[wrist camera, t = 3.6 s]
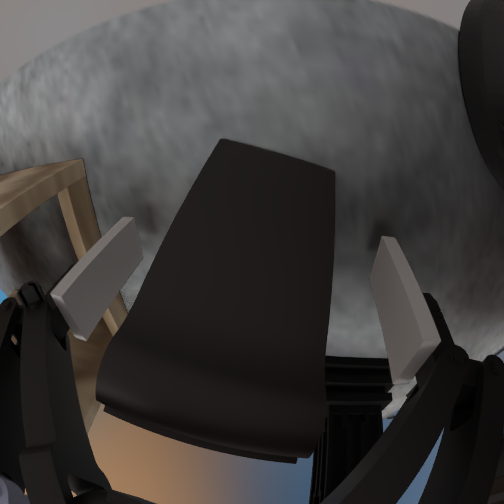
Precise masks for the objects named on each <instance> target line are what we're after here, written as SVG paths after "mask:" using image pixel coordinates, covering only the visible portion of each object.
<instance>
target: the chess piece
mask: <svg viewBox="0 0 504 504" xmlns="http://www.w3.org/2000/svg"><path fill="white" fill-rule="evenodd" d="M393 386H394V384H393V383H392V377H391V371H390V365H389V360H388V359H380V358H351V357H334V356H325V388H326V399H327V405H326V416H325V422H324V426H323V430H322V434H321V437H320V439H319V442H318V444H317V446H316V448H315V450H314V453H313V467H312V479H311V490H310V499H309V504H320V503H321V502H322V501H323V500H324V499H325V498H326V497H328V496H329V495H330V494H331V493H332V492H333V491H334V490H335V489H336V488H337V487H338V486H339V485H340V484H341V483H342V482H343V480H344V479H345V478H346V477H347V476H348V475H349V474H350V473H351V472H352V471H353V470H354V468H355V467H356V466H357V465H358V464H359V463H360V462H361V460H362V459H363V458H364V457H365V456H366V454H367V453H368V452H369V451H370V450H371V448H372V447H373V446H374V445H375V443H376V442H377V441H378V439H379V438H380V437H381V435H382V434H383V422H382V410H383V409H384V408H385V407H386V406H387V405H388V404H389V403H390V402H391V401H392V393H387V392H388V391H389V390H390V389H391V388H392V387H393Z"/></svg>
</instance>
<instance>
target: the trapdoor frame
mask: <svg viewBox="0 0 504 504" xmlns="http://www.w3.org/2000/svg"><path fill="white" fill-rule="evenodd" d="M56 194H57V195H58V199H59V202H60V206H61V209H62V213H63V216H64V220H65V223H66V226H67V229H68V232H69V235H70V238H71V241H72V244H73V247H74V250H75V253H76V255H77V258H78V261H79V260H80V259H81V258H82V257H83V256H84V255H85V254H86V253H87V252H88V251H89V250H90V249H91V248H92V247H93V246H94V245H95V244H96V243H97V242H98V241H99V240H100V239H101V235H100V232H99V228H98V224H97V221H96V217H95V213H94V209H93V205H92V201H91V197H90V192H89V188H88V183H87V179H86V174H85V168H84V163H83V159H77V160H71V161H65V162H59V163H53V164H48V165H42V166H37V167H32V168H28V169H23V170H19V171H15V172H10V173H6V174H3V175H0V236H2V235H3V234H4V233H5V232H6V231H8V230H9V229H10V228H11V227H12V226H14V225H15V224H16V223H17V222H19V221H20V220H21V219H23V218H24V217H25V216H26V215H28V214H29V213H30V212H32V211H33V210H34V209H36V208H37V207H39V206H40V205H41V204H43V203H44V202H46V201H47V200H48V199H50V198H51V197H53V196H54V195H56ZM17 292H18V290H14V291H13V292H12V293H11V294H10V295H9V297H14V298H16V300H17V302H18V303H19V305H22V303H21V302H20V300H19V298H18V296H17V295H16V294H17ZM9 297H8V298H9ZM127 315H128V312H127V310H126V307H125V305H124V302H123V300H122V297H121V295H120V292H119V293H118V294H117V295H116V297H115V298H114V300H113V301H112V303H111V304H110V306H109V307H108V309H107V310H106V312H105V313H104V315H103V317H102V318H101V319H100V321H99V322H98V324H97V325H96V327H95V328H94V330H93V332H92V333H91V335H90V336H89V338H88V340H87V341H85V340H82V339H79V338H76V337H75V336H74V335H73V333H72V331H71V330H70V329H69V331H68V332H67V334H68V336H69V339H70V349H71V357H72V364H73V371H74V377H75V383H76V389H77V394H78V399H79V403H80V408H81V412H82V416H83V421H84V424H85V428H86V432H87V434H88V432H89V429H90V427H91V425H92V423H93V420H94V418H95V416H96V413H97V411H98V409H99V407H100V405H101V403H100V402H98V401H96V395H95V388H96V380H97V374H98V370H99V367H100V363H101V360H102V358H103V355H104V353H105V350H106V348H107V346H108V344H109V343H110V341H111V339H112V338H113V336H114V335H115V333H116V332H117V331H118V329H119V328H120V326H121V325H122V323H123V322H124V320H125V318H126V317H127ZM11 340H12V341H13V343H14V344H15V345H16V343H17V340H16V339H15V337H14V336H13V335H12V338H11Z"/></svg>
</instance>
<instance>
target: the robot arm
mask: <svg viewBox="0 0 504 504" xmlns="http://www.w3.org/2000/svg"><path fill="white" fill-rule="evenodd" d="M459 61H460V72H461V80H462V86H463V92H464V97H465V102H466V106H467V111H468V114H469V118H470V122H471V125H472V129H473V132H474V135H475V138H476V140H477V143H478V146H479V148H480V150H481V153H482V155H483V157H484V159H485V161H486V163H487V165H488V167H489V169H490V170H491V172H492V174H493V175H494V177H495V178H496V180H497V181H498V182H499V183H500V185H501V186H502V187H503V188H504V0H471V1H470V2H469V3H468V5H467V7H466V9H465V11H464V14H463V17H462V22H461V27H460V34H459ZM142 259H143V254H142V250H141V246H140V242H139V237H138V233H137V229H136V224H135V219H134V217H122V218H121V219H120V220H119V221H118V222H117V223H116V224H115V225H114V226H113V227H112V228H111V229H110V230H109V231H108V232H107V233H106V234H105V235H104V236H103V237H102V238H101V239H100V240H99V241H98V242H97V243H96V244H95V245H94V246H93V247H92V248H91V249H90V250H89V251H88V252H87V253H86V254H85V255H84V256H83V257H82V258H81V259H80V260H79V261H77V262H76V263H74V264H73V265H71V266H70V268H69V269H68V270H67V271H66V273H64V274H63V275H62V276H61V278H60V279H59V280H58V281H57V282H56V283H55V284H54V286H53V287H52V288H51V289H50V290H49V291H48V293H47V294H46V295H44V293H43V291H42V289H41V287H40V285H39V283H38V282H37V281H30V282H27V283H25V284H24V285H23V286H21V287H20V289H19V290H18V292H17V294H16V295H17V296H18V298H19V300H20V302H21V303H22V305H19V303H18V302H17V300H16V298H14V297H9V298H7V299H5V300H4V301H3V302H2V303H1V304H0V504H156V503H153V502H150V501H147V500H144V499H142V498H139V497H135V496H132V495H128V494H125V493H121V492H118V491H115V490H112V488H111V486H110V483H109V482H108V479H107V478H106V476H105V474H104V473H103V472H102V471H101V470H100V468H99V467H98V465H97V463H96V461H95V458H94V455H93V452H92V449H91V446H90V442H89V439H88V435H87V432H86V428H85V424H84V421H83V416H82V412H81V408H80V403H79V399H78V394H77V389H76V383H75V377H74V371H73V364H72V357H71V349H70V339H69V336H68V334H67V332H68V331H69V329H70V330H71V331H72V333H73V335H74V336H75V337H76V338H79V339H82V340H85V341H87V340H88V338H89V336H90V335H91V333H92V332H93V330H94V328H95V327H96V325H97V324H98V322H99V321H100V319H101V318H102V316H103V315H104V313H105V312H106V310H107V309H108V307H109V306H110V304H111V303H112V301H113V300H114V298H115V297H116V295H117V294H118V293H119V291H120V290H121V288H122V287H123V285H124V284H125V283H126V281H127V280H128V278H129V277H130V276H131V274H132V273H133V271H134V270H135V269H136V267H137V266H138V265H139V263H140V262H141V261H142ZM369 281H370V284H371V288H372V291H373V295H374V299H375V303H376V307H377V310H378V314H379V319H380V323H381V327H382V331H383V336H384V341H385V345H386V350H387V355H388V360H389V365H390V371H391V377H392V383H393V384H404V383H409V382H410V381H411V380H412V379H413V378H414V376H416V380H417V384H416V385H415V386H414V387H413V388H412V390H411V391H410V392H409V393H408V394H407V395H406V396H407V399H406V401H405V402H404V404H403V405H402V407H401V408H400V410H399V411H398V413H397V414H396V416H395V417H394V419H393V420H392V422H391V423H390V425H389V426H388V427H387V429H386V430H385V431H384V433H383V434H382V435H381V437H380V438H379V439H378V441H377V442H376V443H375V445H374V446H373V447H372V448H371V450H370V451H369V452H368V453H367V454H366V456H365V457H364V458H363V459H362V460H361V462H360V463H359V464H358V465H357V466H356V467H355V468H354V470H353V471H352V472H351V473H350V474H349V475H348V476H347V477H346V478H345V479H344V480H343V482H342V483H341V484H340V485H339V486H338V487H337V488H336V489H335V490H334V491H333V492H332V493H331V494H330V495H329V496H328V497H326V498H325V499H324V500H323V501H322V502H321V503H320V504H396V503H397V502H398V500H399V499H400V498H401V496H402V495H403V494H404V492H405V491H406V490H407V488H408V487H409V485H410V484H411V483H412V481H413V480H414V478H415V477H416V475H417V474H418V472H419V471H420V469H421V467H422V466H423V464H424V463H425V461H426V459H427V458H428V455H429V454H430V452H431V450H432V449H433V447H434V445H435V444H436V441H437V440H438V438H439V436H440V434H441V432H442V430H443V428H444V431H443V435H442V439H441V443H440V446H439V449H438V452H437V456H436V459H435V462H434V465H433V468H432V471H431V473H430V476H429V479H428V481H427V484H426V486H425V489H424V491H423V494H422V496H421V498H420V500H419V503H418V504H504V363H503V361H502V360H501V359H500V358H499V357H498V356H496V355H488V356H487V357H486V358H485V360H484V361H483V362H480V361H476V360H472V359H469V356H468V354H467V353H466V351H465V350H464V349H463V348H461V347H460V346H457V345H455V344H454V342H453V339H452V337H451V334H450V331H449V329H448V326H447V324H446V322H445V319H444V317H443V314H442V312H440V311H441V310H440V308H439V305H438V303H437V301H436V300H435V299H434V298H433V297H432V296H431V294H430V293H422V292H421V289H420V287H419V285H418V283H417V280H416V278H415V276H414V274H413V272H412V270H411V268H410V266H409V264H408V262H407V260H406V258H405V256H404V254H403V252H402V250H401V248H400V246H399V244H398V242H397V240H396V238H395V237H387V236H382V237H381V240H380V244H379V248H378V251H377V255H376V258H375V261H374V265H373V268H372V271H371V274H370V277H369ZM12 335H13V336H14V337H15V339H16V340H17V343H16V345H15V344H14V343H13V341H12V340H11V338H12ZM444 426H445V427H444ZM25 488H26V492H27V495H28V496H27V495H25V494H24V493H25ZM71 491H73V492H74V493H76V495H77V496H76V497H73V495H72V492H71Z"/></svg>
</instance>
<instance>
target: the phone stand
mask: <svg viewBox="0 0 504 504" xmlns="http://www.w3.org/2000/svg"><path fill="white" fill-rule="evenodd" d="M334 237H335V172H334V171H331V170H328V169H325V168H322V167H320V166H316V165H313V164H310V163H307V162H304V161H301V160H298V159H294V158H291V157H288V156H284V155H281V154H277V153H274V152H270V151H267V150H263V149H259V148H256V147H252V146H248V145H244V144H240V143H236V142H231V141H227V140H223V139H220V140H219V142H218V144H217V145H216V147H215V148H214V150H213V152H212V153H211V155H210V157H209V158H208V160H207V162H206V163H205V165H204V167H203V168H202V170H201V172H200V174H199V175H198V177H197V179H196V180H195V182H194V184H193V186H192V188H191V189H190V191H189V193H188V195H187V196H186V198H185V200H184V202H183V204H182V206H181V207H180V209H179V211H178V213H177V215H176V217H175V219H174V221H173V223H172V225H171V226H170V228H169V230H168V232H167V234H166V236H165V238H164V240H163V242H162V244H161V246H160V248H159V250H158V252H157V254H156V256H155V259H154V261H153V263H152V265H151V267H150V269H149V271H148V273H147V276H146V278H145V280H144V282H143V284H142V287H141V289H140V291H139V293H138V295H137V298H136V300H135V302H134V304H133V306H132V308H131V309H130V311H129V313H128V315H127V317H126V318H125V320H124V322H123V323H122V325H121V326H120V328H119V329H118V331H117V332H116V333H115V335H114V336H113V338H112V339H111V341H110V343H109V344H108V346H107V348H106V350H105V353H104V355H103V358H102V360H101V363H100V367H99V370H98V374H97V380H96V388H95V395H96V401H98V402H100V403H102V404H104V405H105V408H104V412H106V413H109V414H111V415H113V416H115V417H117V418H119V419H122V420H124V421H126V422H129V423H131V424H133V425H136V426H138V427H141V428H143V429H146V430H149V431H152V432H154V433H157V434H160V435H162V436H165V437H169V438H172V439H175V440H178V441H181V442H184V443H188V444H191V445H195V446H198V447H202V448H206V449H210V450H214V451H218V452H223V453H227V454H232V455H237V456H242V457H247V458H253V459H260V460H267V461H274V462H283V463H293V464H296V462H297V458H309V457H310V456H311V455H312V453H313V452H314V450H315V448H316V446H317V444H318V442H319V439H320V437H321V434H322V430H323V426H324V422H325V416H326V405H327V399H326V388H325V353H326V343H327V335H328V325H329V315H330V304H331V292H332V278H333V261H334Z"/></svg>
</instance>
